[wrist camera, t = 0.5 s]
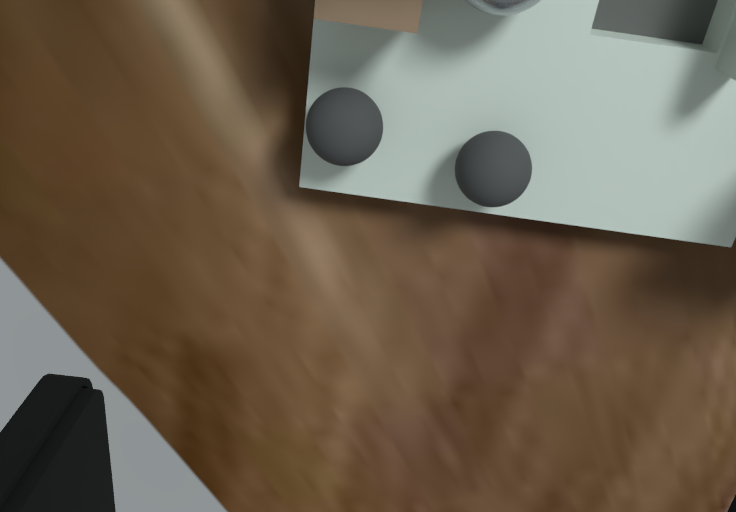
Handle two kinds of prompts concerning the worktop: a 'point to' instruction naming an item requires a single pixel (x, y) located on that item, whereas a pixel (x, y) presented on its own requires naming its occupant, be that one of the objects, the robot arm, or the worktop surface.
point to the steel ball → (502, 6)
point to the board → (550, 110)
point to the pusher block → (372, 13)
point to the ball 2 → (493, 168)
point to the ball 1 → (344, 126)
